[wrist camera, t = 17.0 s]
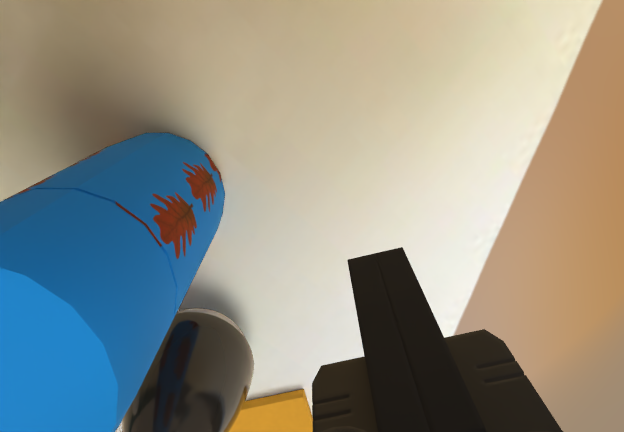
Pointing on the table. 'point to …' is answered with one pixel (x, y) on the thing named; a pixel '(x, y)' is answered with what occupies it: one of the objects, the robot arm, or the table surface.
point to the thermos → (98, 279)
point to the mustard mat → (275, 414)
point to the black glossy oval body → (194, 377)
